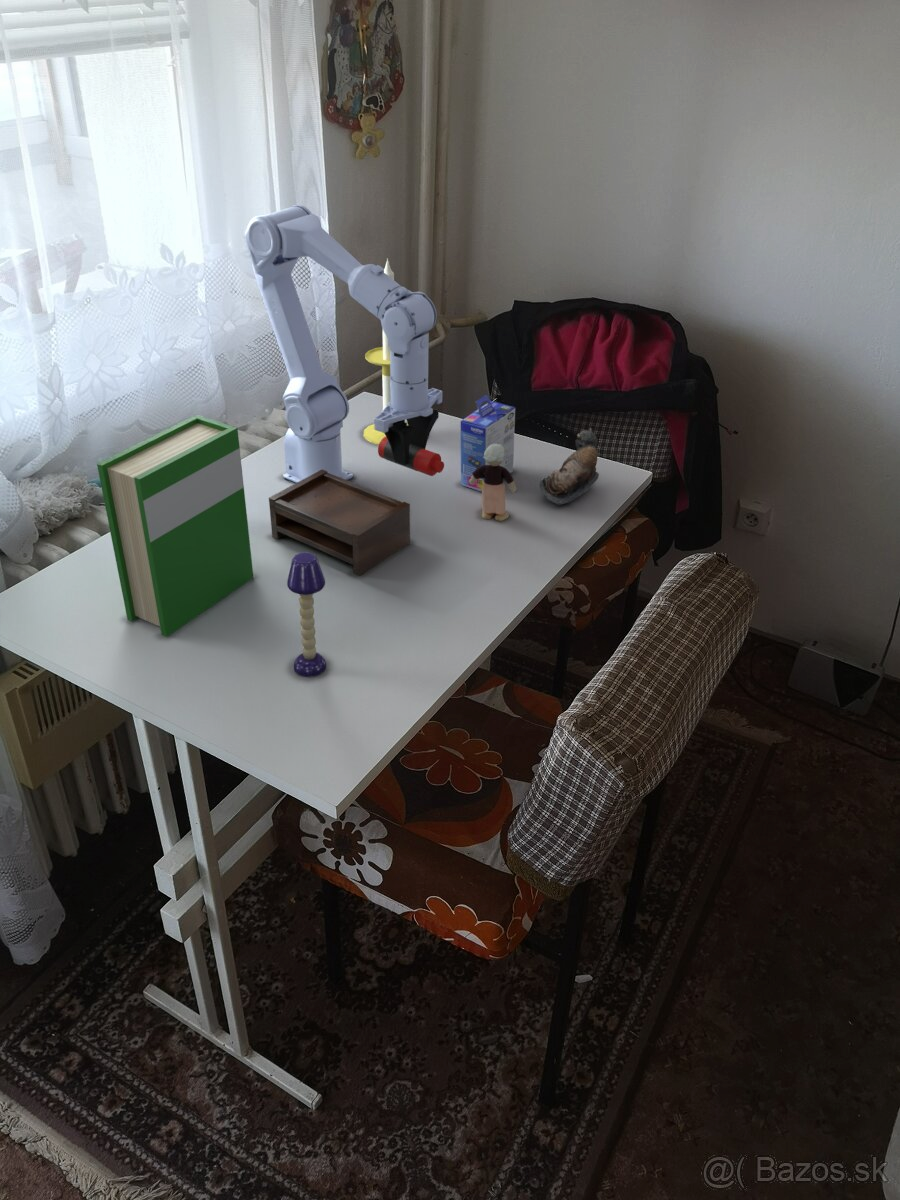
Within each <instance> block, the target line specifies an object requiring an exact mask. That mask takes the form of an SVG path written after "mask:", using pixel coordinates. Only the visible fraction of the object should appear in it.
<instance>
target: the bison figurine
mask: <svg viewBox="0 0 900 1200" xmlns="http://www.w3.org/2000/svg"><path fill="white" fill-rule="evenodd" d="M576 437H577V438H576V439H575V441H574V444H575V449H576V450H575V451H574V452H573V453H571V454H570V455H569V456H568V457H567V458H566V459H565V460H564V461H563V463H562V465H561V467H560V468H559V469H555V470H554V471H552V473H551V475H548V476H547V477H543V478H542V480H540V481H539V488H540V491H541V492H542V493H543V495H544V497H545V498H546V499H547V500H548V501H549V502H551V503H554V504H556V505H558V506H561V505H564V504H570V503H571V502H572V501H574V500H576V499H577V498H578V497H580V496H582V495H583V494H585V492H587V491H588V490H589V489H590V488H591V487H592V486H594V484H596V482H597V481H598V479H599V476H600V473H599V472H598V471H597V464H598V455H599V453H598V451H597V447H598V438H597V435H596V434H595V433H594V432H593V430H592V428H591V427H589V430H587V429H583V430H581V431H580V432H578V433H576Z"/></svg>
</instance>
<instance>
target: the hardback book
mask: <svg viewBox="0 0 900 1200" xmlns="http://www.w3.org/2000/svg"><path fill="white" fill-rule="evenodd" d="M96 466H97V471H98V476H99V477H98V478H99V482H100V486H101V492H102V496H103V497H102V498H103V502H104V507H105V513H106V517H107V522H108V528H109V532H110V538H111V542H112V547H113V553H114V557H115V564H116V567H117V573H118V579H119V583H120V588H121V593H122V599H123V604H124V608H125V615H126V619H127V620H128V621H130V622H132V623H133V622H134V621H136V620H137V619H142V620H145V621H147V622H149V623H151V624H153V625H155V626H158V627H159V628H160V634H161V636H162V637H165V638H168V637H169V636H171V635H172V634H174V633H175V632H177V631H178V630H180V629H181V628H183V627H184V626H186V625H187V624H189V622H191V621H192V620H194V619H196V618H197V617H199V616H200V615H201V614H203V613H204V612H205V611H207V610H208V609H210V608H211V607H213V606H215V605H216V604H217V603H219V602H221V601H222V600H223V599H225V598H226V597H228V596H229V595H230V594H232V593H233V592H234V591H236V590H238V589H239V588H240V587H242V586H243V585H245V584H247V583H248V582H249V581H251V580H252V579H254V570H253V560H252V559H253V558H252V550H251V541H250V533H249V522H248V513H247V503H246V495H245V494H246V493H245V485H244V476H243V475H244V474H243V467H242V456H241V448H240V437H239V429H238V427H236V426H233V425H230V424H226V423H224V422H221V421H219V420H218V421H217V420H214V419H211V418H208V417H206V416H202V415H199V414H195V415H193V416H190V417H189V418H187V419H185V420H183V421H180V422H179V423H176V424H174V425H173V426H170V427H168V428H166V429H164V430H162V431H160V432H158V433H156V434H154V435H151V436H149V437H148V438H146V439H144V440H142V441H140V442H138V443H136V444H134V445H132V446H130V447H128V448H126V449H124V450H122V451H119V452H118V453H116V454H114V455H111V456H110V457H108V458H105V459H103V460H101V461H100V462H97V463H96Z"/></svg>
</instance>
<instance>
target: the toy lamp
mask: <svg viewBox="0 0 900 1200" xmlns="http://www.w3.org/2000/svg"><path fill="white" fill-rule="evenodd" d="M319 561H320V560H319V559H318V557H317V555H315V554H314V553H312V552H308V551H305V552H304V551H303V552H299V553H297V554H295V555H294V556H293V558H292V559H291V563H290V568H289V572H288V577H287V583H286V585H287V588H288V590H289V591H291V592H292V593H294V594H295V595H296V594H297V595H299V599H298V600H299V601H298V603H299V606H300V608H299V614H300V626H301V630H300V635H301V636H302V639H301V645H302V653H300V654H299V655H298V656H296V658H295V660H294V663H293V670H294V672H295V673H296V674H297V675H299V676H302V677H307V678H311V677H316V676H319V675H321V674H323V673H325V671H326V670H327V662H326V659H325V658H324V656H323V655H322V654H321V653H319V652H317V647H316V645H317V641H316V636H315V635H316V627H315V617H314V615H315V609H314V601H315V599H314V596H313V595H314V594H317V593H319V592H321V591H322V590H323V589H324V587H325V585H326V580H325V576H324V573H323V570H322V567H321V565H320V562H319Z"/></svg>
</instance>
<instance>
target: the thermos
mask: <svg viewBox="0 0 900 1200" xmlns="http://www.w3.org/2000/svg"><path fill="white" fill-rule="evenodd" d="M377 454H378V456H379V458H381V459H384V460H386V461H389V462H391V463H394V464H397V465H399V466H402V467H405V468H407V469H410V470H413V471H415V472H419V473H421V474H425V475H427V476H430V477H434V476H435V475H437V473H438V474H439V473H442V472H443V470H444V468H445V462H444V461H442V456H441V455H440V453H437V452H434V451H431V450H428V449H427V448H425V449H424V448H421V447H418V446H416V445H413V444H410V448H409V459H408V463H407V464H406V465H402V464H399V463H397V462H395V460H394V456H393V453H392V449H391V446H390V444H389V441H388V439H387V437H384V438H383V439H382V440H381V441H380V443H379V445H377Z"/></svg>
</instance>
